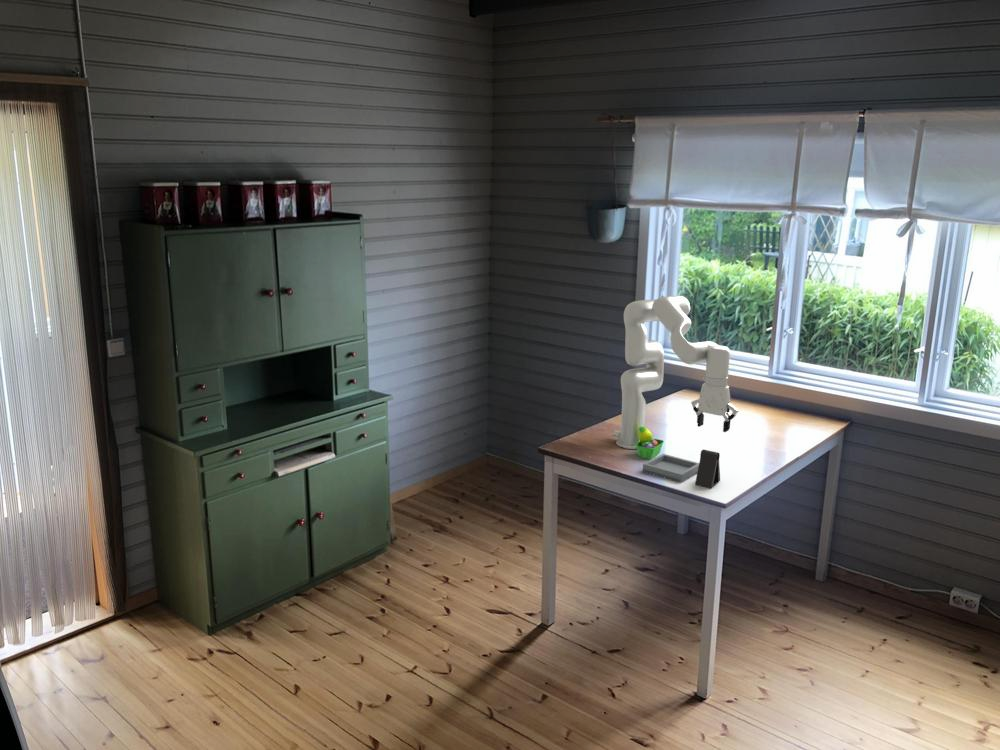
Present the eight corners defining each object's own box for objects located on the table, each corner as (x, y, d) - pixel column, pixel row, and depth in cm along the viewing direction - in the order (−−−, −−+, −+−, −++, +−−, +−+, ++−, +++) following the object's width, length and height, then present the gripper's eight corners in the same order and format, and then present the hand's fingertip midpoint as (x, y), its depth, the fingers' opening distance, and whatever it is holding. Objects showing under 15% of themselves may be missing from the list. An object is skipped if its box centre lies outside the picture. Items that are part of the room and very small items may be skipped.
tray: (642, 471, 297) (643, 464, 296) (662, 461, 308) (663, 453, 307) (681, 482, 287) (682, 474, 286) (700, 471, 298) (701, 463, 297)
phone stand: (711, 488, 282) (713, 456, 279) (694, 484, 285) (697, 453, 282) (720, 481, 289) (723, 449, 286) (704, 477, 292) (706, 446, 289)
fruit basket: (652, 461, 308) (654, 433, 305) (631, 456, 312) (633, 429, 310) (663, 452, 317) (665, 425, 314) (643, 448, 322) (644, 421, 319)
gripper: (688, 379, 280) (685, 426, 285) (735, 387, 270) (731, 436, 274) (698, 375, 286) (695, 421, 290) (744, 383, 275) (740, 431, 279)
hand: (712, 428), depth 282 cm, fingers open, 9 cm apart
